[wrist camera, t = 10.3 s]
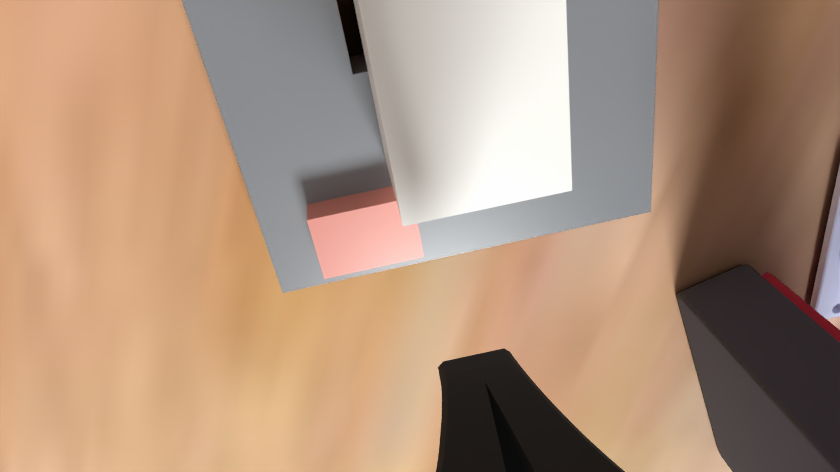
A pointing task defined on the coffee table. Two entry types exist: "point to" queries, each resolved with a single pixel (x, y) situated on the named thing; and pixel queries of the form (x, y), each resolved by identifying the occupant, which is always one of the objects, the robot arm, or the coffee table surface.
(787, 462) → the dark grey red box
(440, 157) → the white rectangular box
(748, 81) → the coffee table surface
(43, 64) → the coffee table surface
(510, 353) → the robot arm
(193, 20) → the socket
